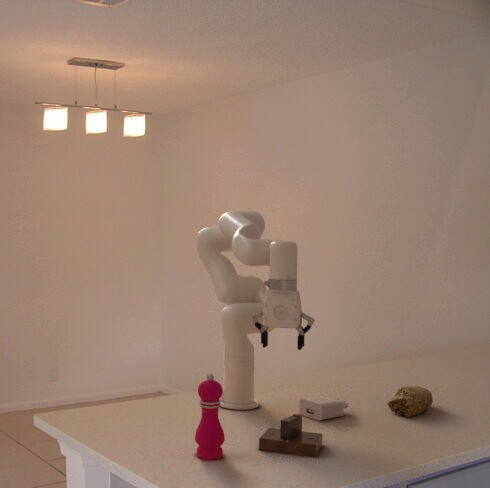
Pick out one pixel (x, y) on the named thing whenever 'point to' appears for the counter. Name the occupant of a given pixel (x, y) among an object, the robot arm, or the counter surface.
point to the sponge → (410, 401)
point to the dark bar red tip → (291, 426)
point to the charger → (322, 407)
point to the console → (291, 443)
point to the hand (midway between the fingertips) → (282, 347)
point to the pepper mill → (209, 420)
